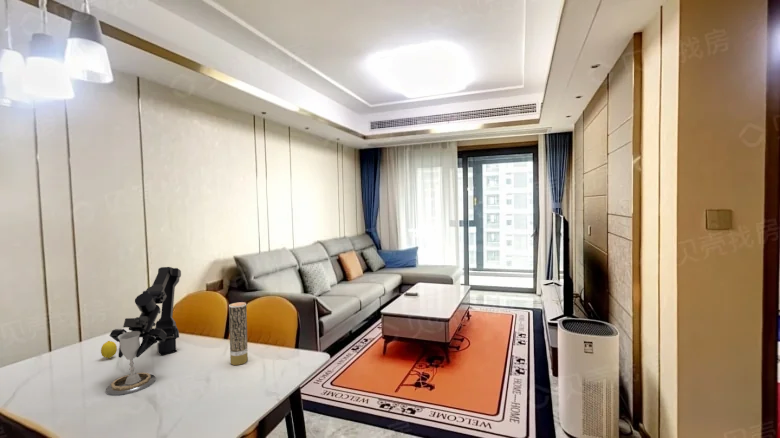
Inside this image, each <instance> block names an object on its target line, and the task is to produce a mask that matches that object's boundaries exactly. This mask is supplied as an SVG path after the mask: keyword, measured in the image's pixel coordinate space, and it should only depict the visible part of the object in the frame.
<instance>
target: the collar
mask: <svg viewBox="0 0 780 438" xmlns="http://www.w3.org/2000/svg"><path fill="white" fill-rule="evenodd" d="M136 373H137V374H139V376H140V378H141V380H140V381H139V382H137V383H135V384H130V385H126V384H125V382H126V379H127V377H128V376H129V375H130V374H127V375H123V376H121V377H119V378H117V379H115V380H113V381H112V382H111V383H109V384H108V385H107V386H106V388H105V393H106V395H108V396H125V395H129V394H134V393H136V392H137V393H138V392H140V391H143V390H144V389H146V388H149V387H150V386H152V385H154V383H155V382H156V380H157V379H156V375H155V374H152V373H149V372H136Z"/></svg>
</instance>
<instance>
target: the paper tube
mask: <svg viewBox="0 0 780 438" xmlns="http://www.w3.org/2000/svg"><path fill="white" fill-rule="evenodd" d="M247 313H248V312H247V302H245V301H244V302H243V301H241V302H239V301H238V302H233V303H230V304H229V305H228V314H229V315H228V317H229V320H228V321H229V352H230V353H229V355H230V357H229V358H230V364H231V365H233V366H241V365H243V364H244V365H245V363H247V362H248V359H249V357H248V354H249V353H248V350H249V349H248V321H247V320H248V317H247V316H248V314H247Z"/></svg>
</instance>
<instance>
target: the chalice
mask: <svg viewBox="0 0 780 438" xmlns="http://www.w3.org/2000/svg"><path fill="white" fill-rule="evenodd" d="M139 335H140V332H139V331H127V332H126V333H123V334H121V335H119V336H118V339H119V340H120V342H119V348H120V350H121V352H122V354H123V357H124V358H125V359H127V360H129V364H128V365H129V370H130V374H128V375H129V376H128V377H127V379H126V382H125V384H126V385H130V384H135V383H137V382H139V381H140V380H141V378H140V376H139V374H137V373H138V372H135V369H136V368H135V366H134V365H135V362H134V359H135V358H137V357H136V354H137V351H138V349H139V347H140V345H141V343H140V342H141V341H140V337H139Z"/></svg>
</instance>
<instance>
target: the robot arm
mask: <svg viewBox="0 0 780 438" xmlns="http://www.w3.org/2000/svg"><path fill="white" fill-rule="evenodd" d="M181 276H182V271H181V270H180V269H179V268H178V267H172V266H161V267H159V268H158V271H157V274H156V277H155V279H154V280H153V283H152V285H150V286H149V287H148V288H146V290H143V291H142V292H141V294H138V295H137V296H136V297H135V298H134V303H135V304H136V305H135V306H137V309H138V310H139V311H140V314H139V316H138V317H134V318H133V317H132V318H131V317H130V318H129V317H128V318H124V323H123V325H122V327H123V328H115V329H113V330H111V332H110V334H109V337H111V338H112V339H113V340H114V341H116V342H119V343H120V340H119V339H118V336H119V335H121V334H123V333H126V332H128V331H127V330H126V329H124V328H127V329H128V330H129V332H131V331H139V332H140V335H139V338H142V339H141V340H142V341H141V343H140V347H139V349H138V351H137V354H136V357H135V358H139V357H140V356H141V355H142V354H144V353H145V352H146V351H147V350H148V349H150V348H151V347H153V345H155V344H156V349H157V353H158V354H159V355H160V356H164V355H168V354H172V353H175V352H178V349H177V339H178V338H180V332H179V329H178V327H177V323H176V321H175V319H174V318H173V314H174V305H175V304H174V303H175V302H174V301H175V290H176V289H175V288H176V286H177V285H178V284H179V282H180V278H181ZM158 304H159V305H160V304H161V307H160V306H159V305H158ZM159 314H161V315H160V318H159V320H157V321H156V319H157V317H158V315H159ZM153 327H154V328H153ZM118 348H119V349H118V358H122V357H124V355H123V354H122V352H121V350H120V347H118Z"/></svg>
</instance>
